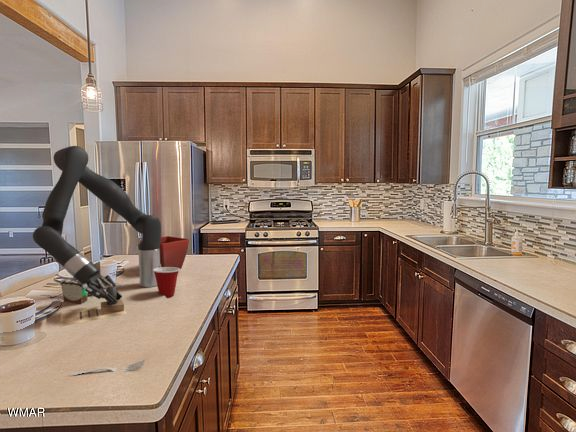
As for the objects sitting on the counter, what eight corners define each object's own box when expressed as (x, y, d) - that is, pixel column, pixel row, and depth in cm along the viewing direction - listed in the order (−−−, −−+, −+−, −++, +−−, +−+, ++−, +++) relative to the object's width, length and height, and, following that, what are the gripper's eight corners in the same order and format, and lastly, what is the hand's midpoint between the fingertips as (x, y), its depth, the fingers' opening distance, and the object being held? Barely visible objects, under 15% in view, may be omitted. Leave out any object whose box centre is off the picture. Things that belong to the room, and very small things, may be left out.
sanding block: (121, 305, 131) (120, 283, 130) (124, 310, 125) (123, 288, 124) (100, 308, 127) (99, 286, 126) (102, 314, 121) (101, 291, 121)
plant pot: (190, 268, 194) (190, 238, 193) (162, 275, 178) (161, 243, 176) (168, 263, 204) (167, 235, 203) (140, 270, 188) (138, 240, 187)
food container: (98, 302, 138) (96, 278, 137) (84, 308, 132) (83, 282, 131) (75, 299, 142) (74, 275, 141) (61, 304, 136) (59, 279, 135)
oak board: (122, 305, 134) (122, 302, 134) (127, 317, 123) (126, 313, 122) (61, 316, 124) (61, 312, 124) (60, 330, 112) (60, 326, 112)
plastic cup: (186, 293, 149) (185, 266, 148) (167, 301, 139) (166, 272, 138) (167, 290, 154) (166, 264, 152) (148, 297, 144) (147, 269, 143)
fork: (44, 376, 86) (43, 369, 86) (146, 364, 92) (146, 358, 92) (38, 383, 83) (37, 376, 83) (144, 370, 89) (143, 364, 89)
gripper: (77, 266, 117) (115, 300, 119) (98, 257, 131) (132, 287, 133) (62, 281, 117) (100, 315, 119) (85, 270, 131) (119, 301, 133)
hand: (117, 300), depth 126 cm, fingers open, 4 cm apart
